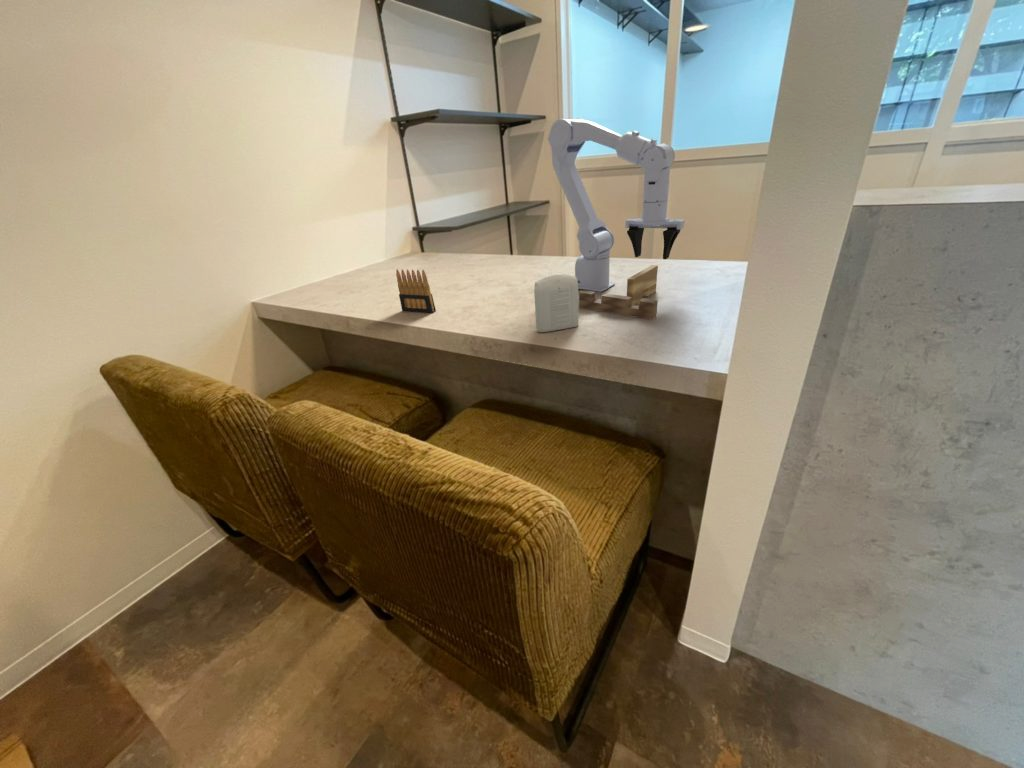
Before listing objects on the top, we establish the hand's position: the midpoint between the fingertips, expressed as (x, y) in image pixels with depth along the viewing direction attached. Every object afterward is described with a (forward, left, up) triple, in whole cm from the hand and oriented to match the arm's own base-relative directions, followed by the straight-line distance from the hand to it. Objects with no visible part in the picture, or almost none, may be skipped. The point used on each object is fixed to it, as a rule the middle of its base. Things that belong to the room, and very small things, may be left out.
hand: (651, 257), depth 108 cm
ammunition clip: (-51, -40, -10) cm, 65 cm away
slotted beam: (-1, -17, -10) cm, 19 cm away
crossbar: (0, -5, -10) cm, 11 cm away
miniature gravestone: (-8, -32, -10) cm, 34 cm away
